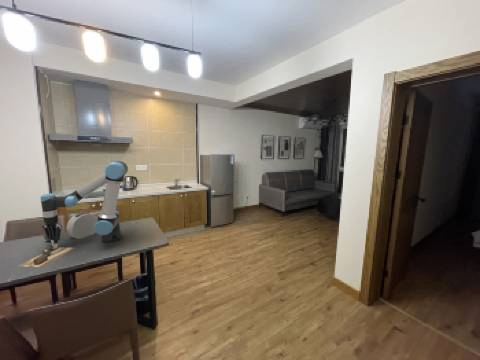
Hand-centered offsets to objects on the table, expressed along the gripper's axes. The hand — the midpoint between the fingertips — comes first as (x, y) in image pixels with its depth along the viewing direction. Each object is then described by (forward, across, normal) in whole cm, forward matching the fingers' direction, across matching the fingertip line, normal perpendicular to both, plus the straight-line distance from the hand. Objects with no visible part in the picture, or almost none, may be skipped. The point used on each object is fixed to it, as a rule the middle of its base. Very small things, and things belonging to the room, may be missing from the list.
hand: (55, 247), depth 148 cm
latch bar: (+1, 0, +5) cm, 5 cm away
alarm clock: (+3, +2, -27) cm, 27 cm away
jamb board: (+2, -5, +9) cm, 10 cm away
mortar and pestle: (+3, +16, -13) cm, 21 cm away
